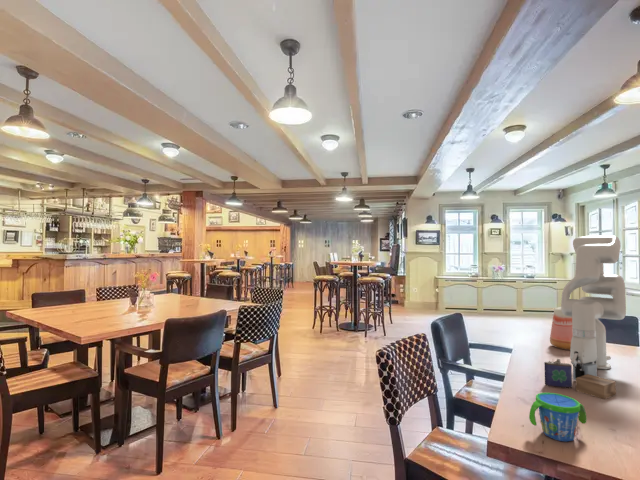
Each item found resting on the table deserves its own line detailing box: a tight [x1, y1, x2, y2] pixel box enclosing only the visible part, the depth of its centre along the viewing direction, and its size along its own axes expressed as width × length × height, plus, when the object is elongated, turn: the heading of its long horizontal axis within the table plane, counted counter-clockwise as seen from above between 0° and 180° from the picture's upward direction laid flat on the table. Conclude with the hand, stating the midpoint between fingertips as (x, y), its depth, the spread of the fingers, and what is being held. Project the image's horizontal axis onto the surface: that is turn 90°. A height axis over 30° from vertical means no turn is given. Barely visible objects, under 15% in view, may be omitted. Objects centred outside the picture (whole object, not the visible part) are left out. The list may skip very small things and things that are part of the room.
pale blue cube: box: [572, 361, 598, 381], centre depth 143 cm, size 6×6×7 cm
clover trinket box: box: [543, 358, 573, 389], centre depth 139 cm, size 9×3×11 cm, turn 74°
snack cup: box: [528, 392, 588, 442], centre depth 101 cm, size 16×10×10 cm
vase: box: [549, 306, 573, 351], centre depth 196 cm, size 14×14×30 cm
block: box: [575, 374, 617, 400], centre depth 133 cm, size 9×9×5 cm
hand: (585, 378), depth 143 cm, fingers closed on pale blue cube, 5 cm apart
